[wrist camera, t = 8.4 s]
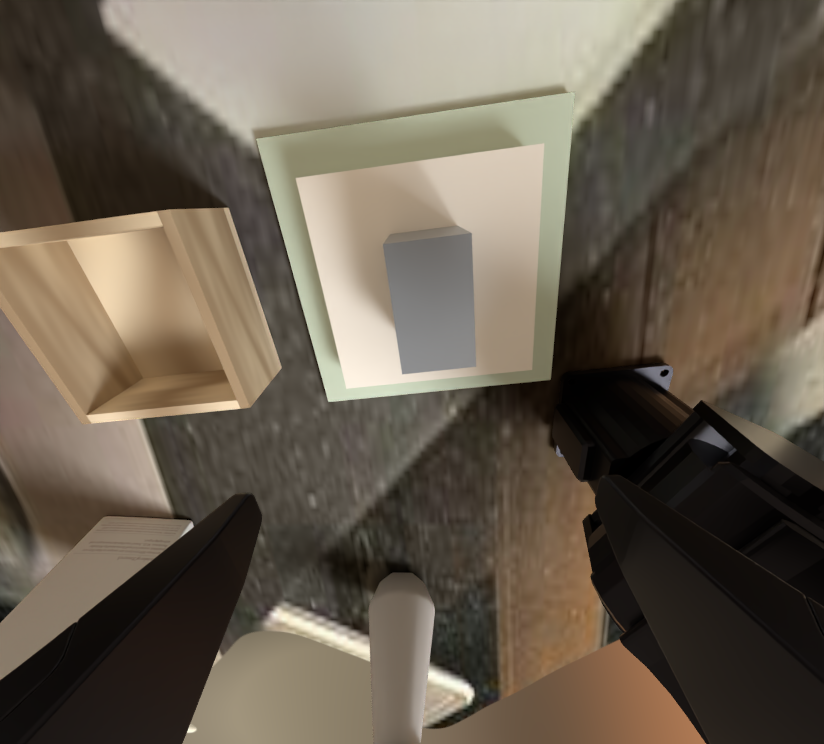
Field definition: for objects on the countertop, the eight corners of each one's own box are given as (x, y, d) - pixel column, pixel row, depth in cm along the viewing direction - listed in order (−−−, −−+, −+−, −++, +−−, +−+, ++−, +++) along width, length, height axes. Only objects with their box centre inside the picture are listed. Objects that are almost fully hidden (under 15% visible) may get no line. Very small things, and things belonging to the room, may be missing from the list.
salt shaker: (441, 572, 30) (458, 802, 18) (424, 606, 33) (429, 827, 21) (378, 561, 29) (355, 793, 18) (365, 597, 32) (339, 821, 20)
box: (228, 207, 16) (169, 209, 12) (281, 367, 21) (250, 407, 17) (60, 230, 17) (-48, 239, 13) (145, 382, 21) (82, 424, 17)
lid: (528, 150, 15) (592, 121, 10) (521, 354, 20) (561, 411, 14) (309, 181, 16) (254, 169, 10) (352, 372, 20) (330, 433, 15)
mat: (570, 94, 14) (575, 91, 14) (547, 375, 21) (550, 379, 20) (260, 140, 15) (255, 138, 15) (330, 397, 22) (328, 401, 21)
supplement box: (102, 513, 27) (-124, 738, 16) (195, 518, 27) (39, 743, 16) (131, 569, 30) (-37, 787, 19) (213, 572, 30) (95, 791, 19)
